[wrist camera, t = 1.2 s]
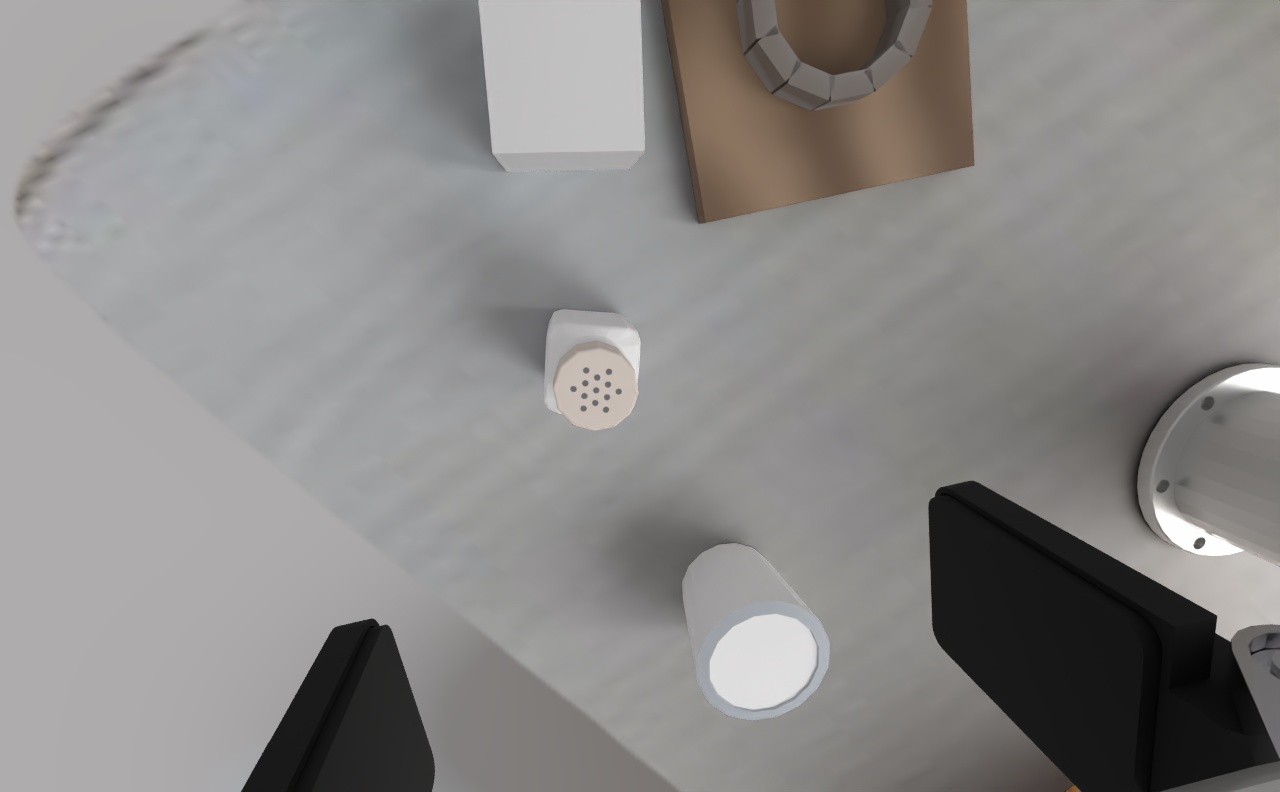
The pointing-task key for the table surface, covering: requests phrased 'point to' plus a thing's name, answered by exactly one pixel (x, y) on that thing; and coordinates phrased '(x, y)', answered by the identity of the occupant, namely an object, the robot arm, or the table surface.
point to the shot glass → (750, 634)
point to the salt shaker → (591, 367)
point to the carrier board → (826, 142)
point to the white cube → (564, 83)
